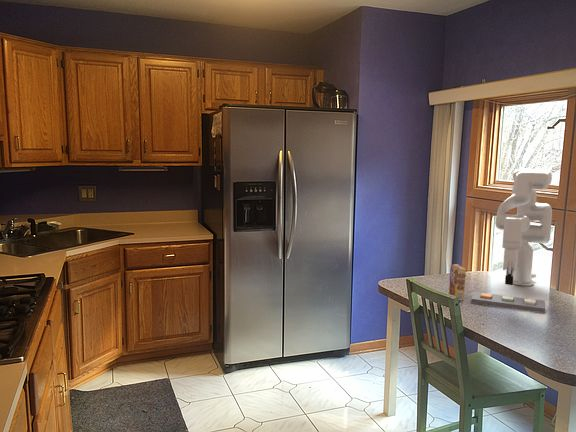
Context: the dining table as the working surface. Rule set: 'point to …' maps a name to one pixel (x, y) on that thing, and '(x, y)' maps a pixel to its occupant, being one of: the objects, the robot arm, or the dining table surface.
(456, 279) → the candy box
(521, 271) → the robot arm
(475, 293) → the button panel
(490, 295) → the orange button
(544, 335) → the dining table surface
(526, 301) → the cream button
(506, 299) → the sage button
